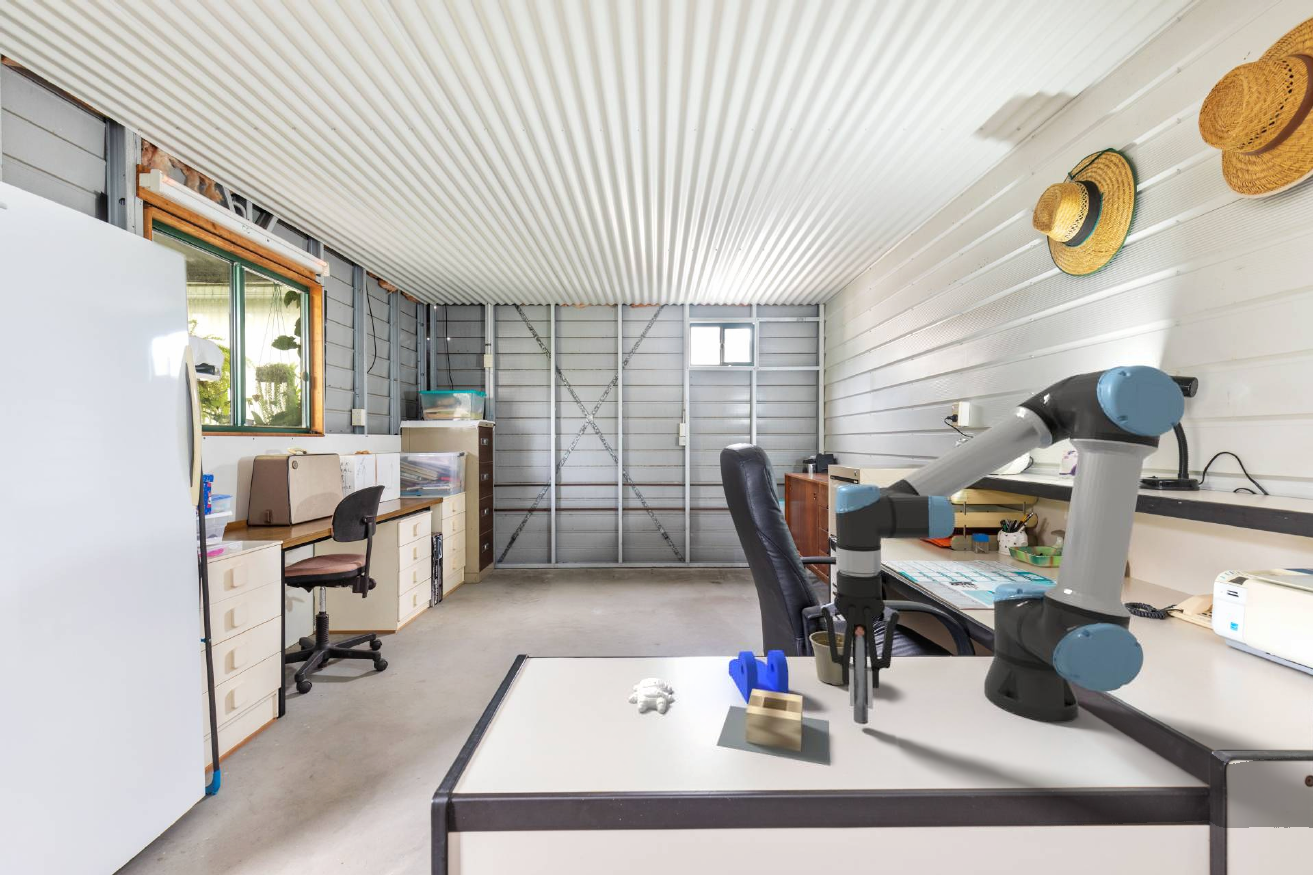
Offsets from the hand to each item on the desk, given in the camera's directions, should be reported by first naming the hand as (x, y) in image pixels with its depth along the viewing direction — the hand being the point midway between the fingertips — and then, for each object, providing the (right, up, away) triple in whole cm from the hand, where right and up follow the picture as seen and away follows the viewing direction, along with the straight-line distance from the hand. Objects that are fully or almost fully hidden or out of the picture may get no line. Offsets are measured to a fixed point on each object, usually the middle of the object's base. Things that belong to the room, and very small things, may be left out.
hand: (860, 703), depth 94 cm
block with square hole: (-16, -4, -2) cm, 16 cm away
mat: (-16, -5, -2) cm, 16 cm away
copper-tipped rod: (0, -3, 0) cm, 3 cm away
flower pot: (+2, -5, +20) cm, 21 cm away
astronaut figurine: (-37, -5, +11) cm, 39 cm away
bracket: (-16, -5, +18) cm, 24 cm away
